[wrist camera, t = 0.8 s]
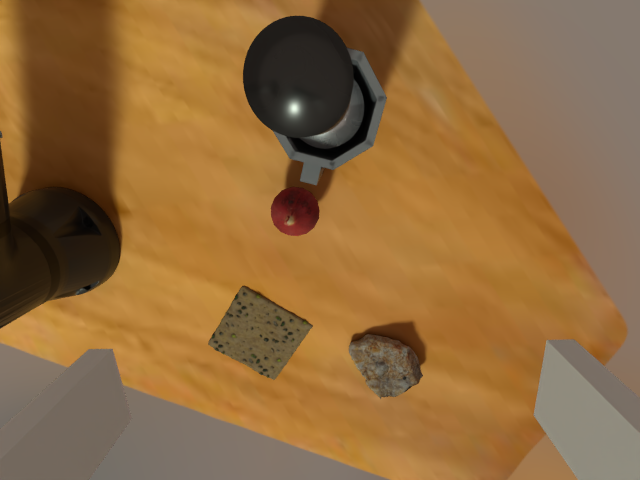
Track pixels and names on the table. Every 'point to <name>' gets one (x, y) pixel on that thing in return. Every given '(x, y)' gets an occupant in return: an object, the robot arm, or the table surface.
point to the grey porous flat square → (259, 333)
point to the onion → (295, 211)
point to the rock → (386, 364)
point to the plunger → (303, 82)
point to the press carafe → (362, 138)
